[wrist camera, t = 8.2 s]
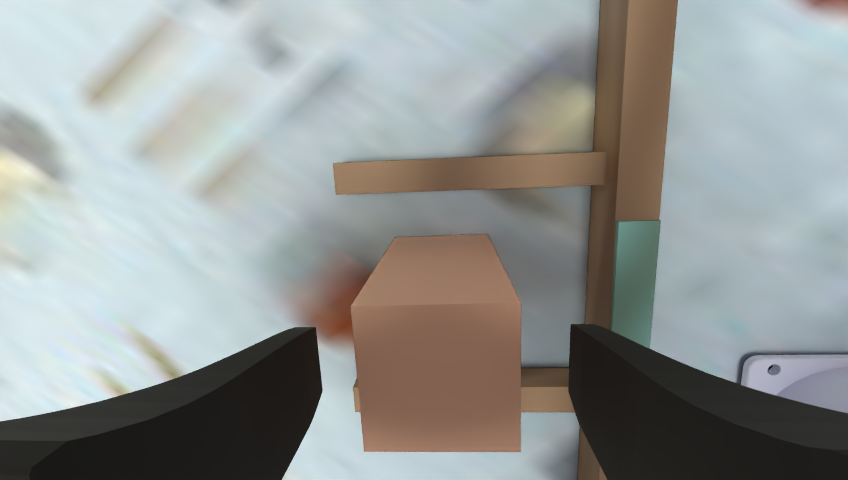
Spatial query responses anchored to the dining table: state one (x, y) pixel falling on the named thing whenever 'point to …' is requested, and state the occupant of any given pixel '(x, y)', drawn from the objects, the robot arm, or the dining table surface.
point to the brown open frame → (602, 169)
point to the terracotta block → (439, 348)
